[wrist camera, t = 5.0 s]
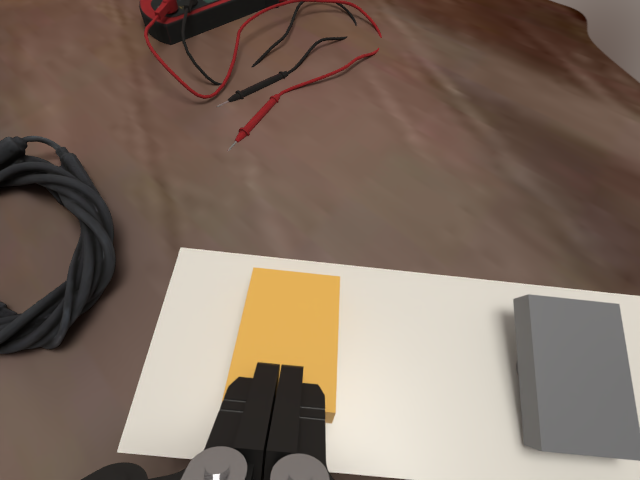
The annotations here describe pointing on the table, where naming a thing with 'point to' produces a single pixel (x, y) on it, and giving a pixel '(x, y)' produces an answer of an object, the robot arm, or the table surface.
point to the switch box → (371, 372)
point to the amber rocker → (291, 328)
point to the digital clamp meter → (226, 6)
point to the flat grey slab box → (575, 378)
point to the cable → (88, 259)
